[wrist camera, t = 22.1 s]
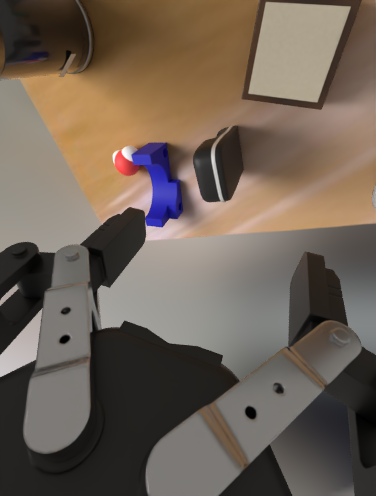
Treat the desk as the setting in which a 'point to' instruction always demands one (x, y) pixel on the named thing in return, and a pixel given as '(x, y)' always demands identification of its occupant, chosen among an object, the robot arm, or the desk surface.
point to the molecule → (125, 161)
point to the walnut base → (354, 3)
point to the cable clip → (160, 184)
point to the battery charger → (219, 165)
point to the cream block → (296, 49)
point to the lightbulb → (374, 197)
